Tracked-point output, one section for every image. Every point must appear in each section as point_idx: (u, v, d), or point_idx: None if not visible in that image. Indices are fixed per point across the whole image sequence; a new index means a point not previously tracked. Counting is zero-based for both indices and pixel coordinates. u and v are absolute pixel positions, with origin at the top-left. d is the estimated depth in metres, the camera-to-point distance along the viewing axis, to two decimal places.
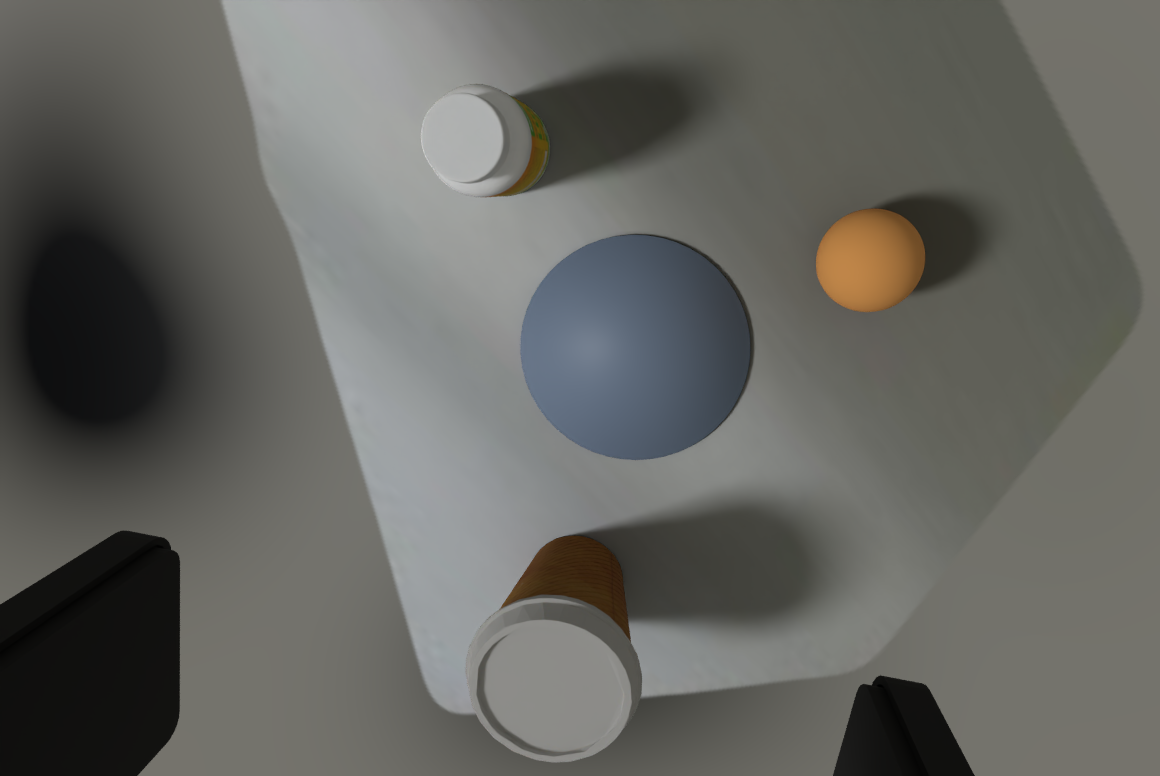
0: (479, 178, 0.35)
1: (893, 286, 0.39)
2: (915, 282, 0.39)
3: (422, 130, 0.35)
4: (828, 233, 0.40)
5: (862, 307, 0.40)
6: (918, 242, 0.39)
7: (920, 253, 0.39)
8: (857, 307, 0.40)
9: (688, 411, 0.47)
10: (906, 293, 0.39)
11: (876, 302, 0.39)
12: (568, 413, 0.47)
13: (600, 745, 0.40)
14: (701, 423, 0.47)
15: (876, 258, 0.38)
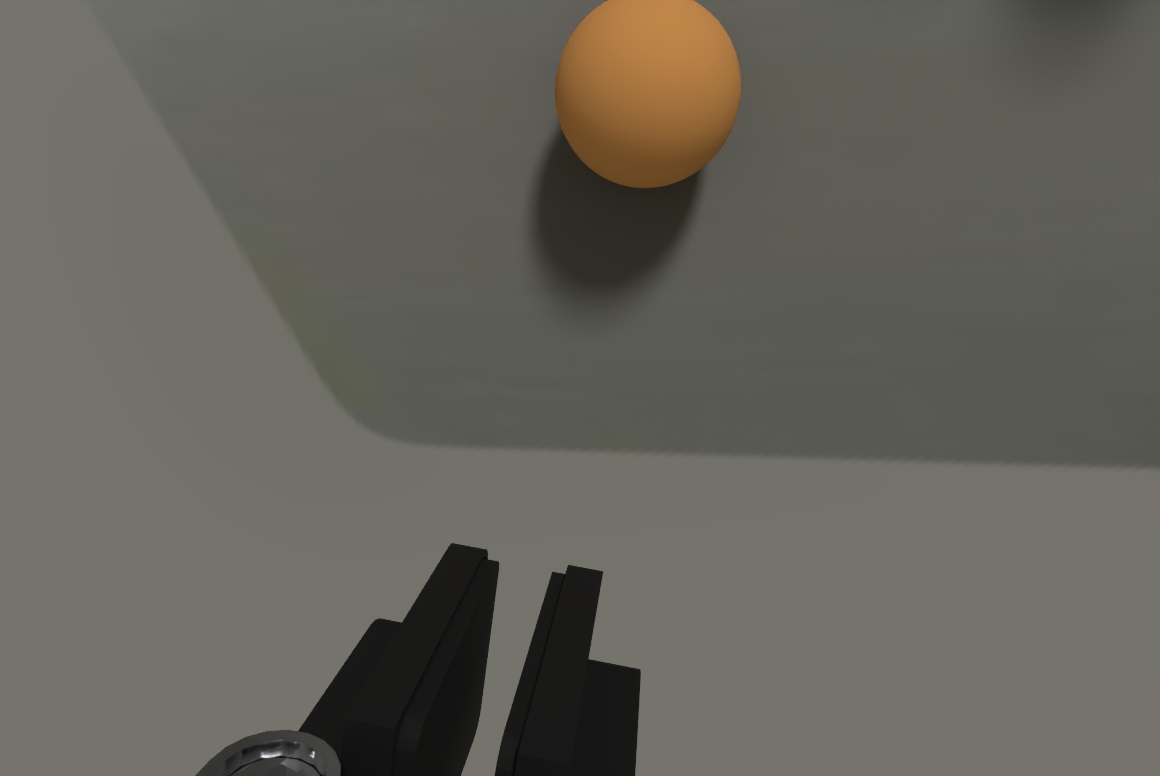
0: None
1: (597, 82, 0.20)
2: (578, 130, 0.21)
3: None
4: (733, 48, 0.22)
5: (585, 24, 0.21)
6: (639, 169, 0.22)
7: (620, 162, 0.22)
8: (590, 17, 0.21)
9: None
10: (568, 107, 0.21)
11: (584, 45, 0.21)
12: None
13: None
14: None
15: (663, 75, 0.20)
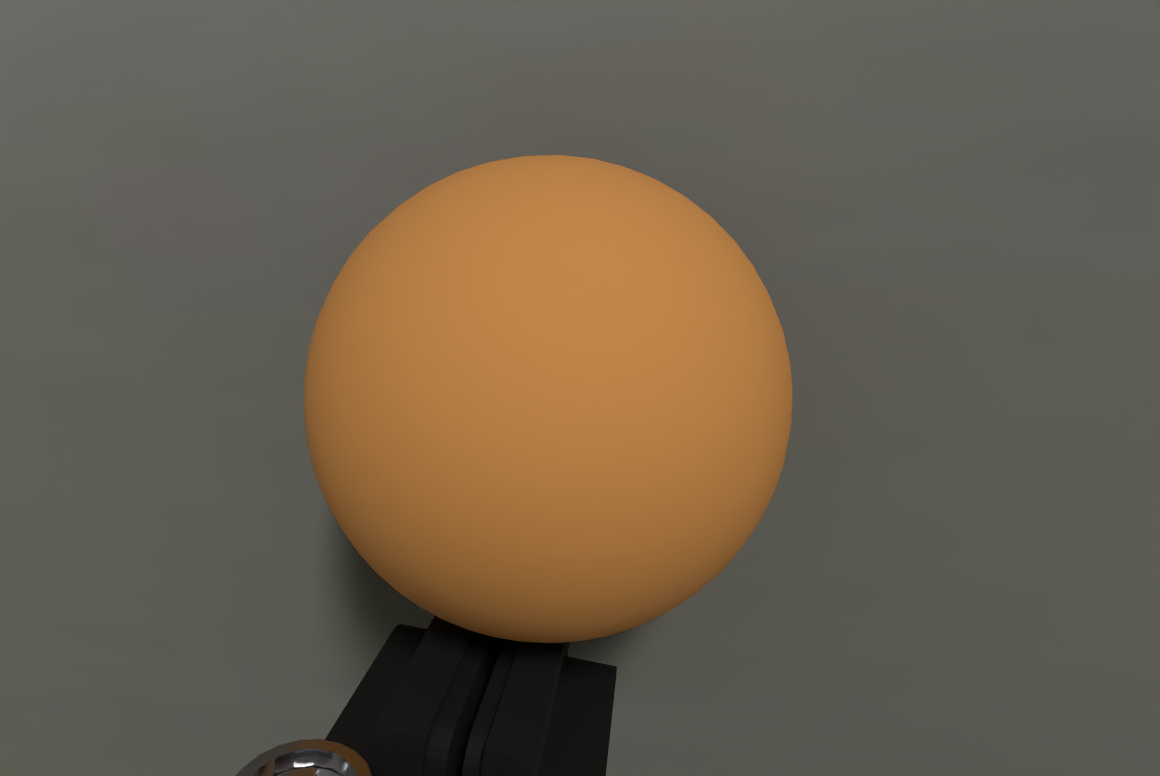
0: None
1: (369, 461, 0.07)
2: (347, 535, 0.08)
3: None
4: (776, 314, 0.08)
5: (358, 262, 0.07)
6: None
7: None
8: (377, 237, 0.07)
9: None
10: (318, 476, 0.08)
11: (343, 335, 0.07)
12: None
13: None
14: None
15: (561, 474, 0.06)
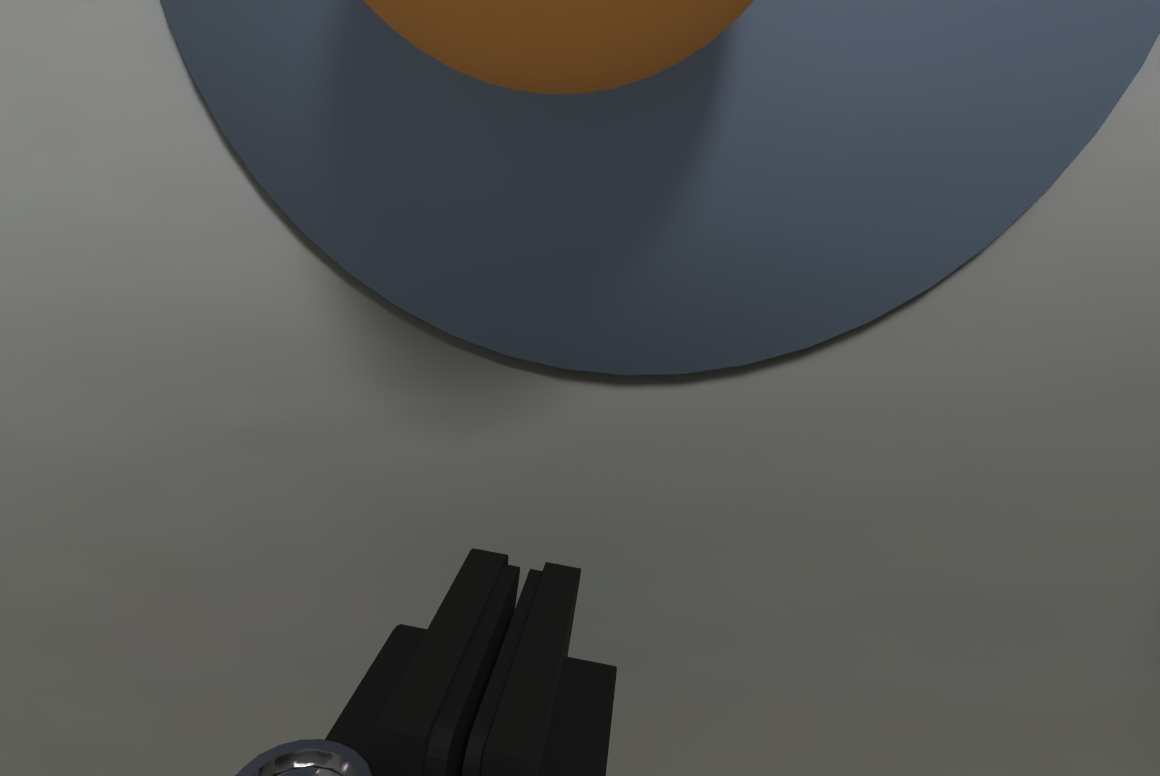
0: None
1: None
2: None
3: None
4: None
5: None
6: None
7: None
8: None
9: None
10: None
11: None
12: None
13: None
14: None
15: (558, 92, 0.08)
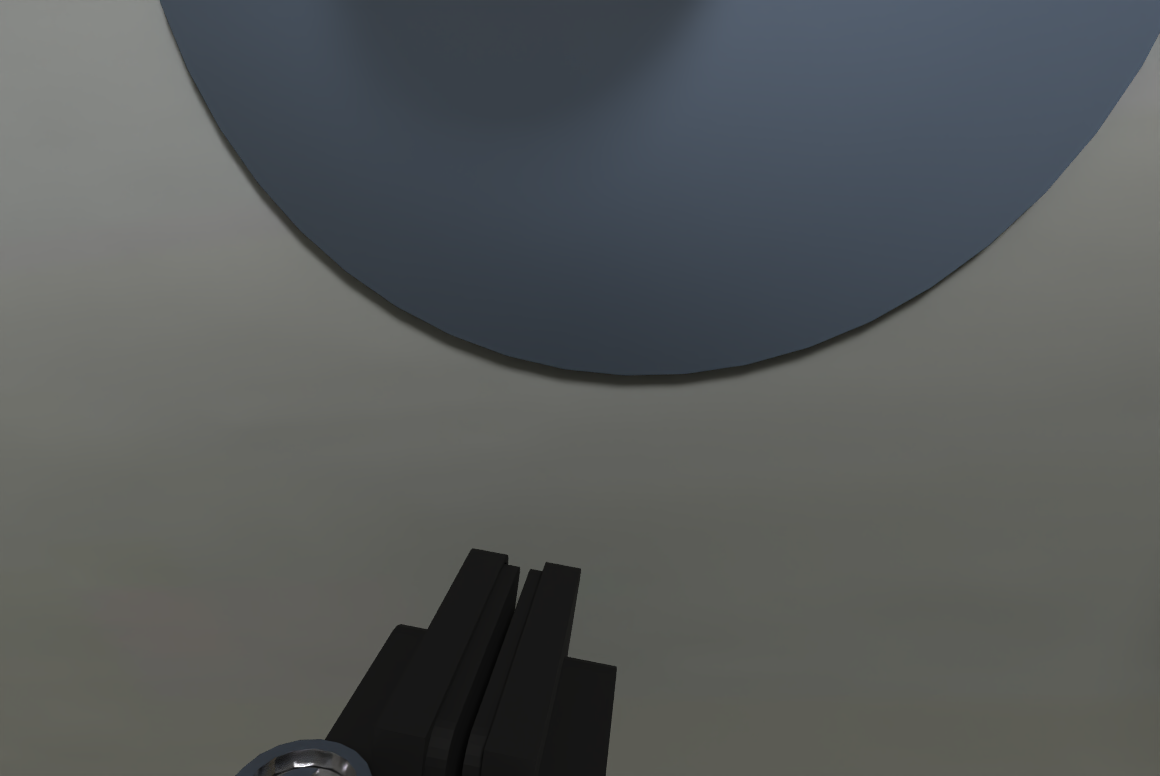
0: None
1: None
2: None
3: None
4: None
5: None
6: None
7: None
8: None
9: None
10: None
11: None
12: None
13: None
14: None
15: None
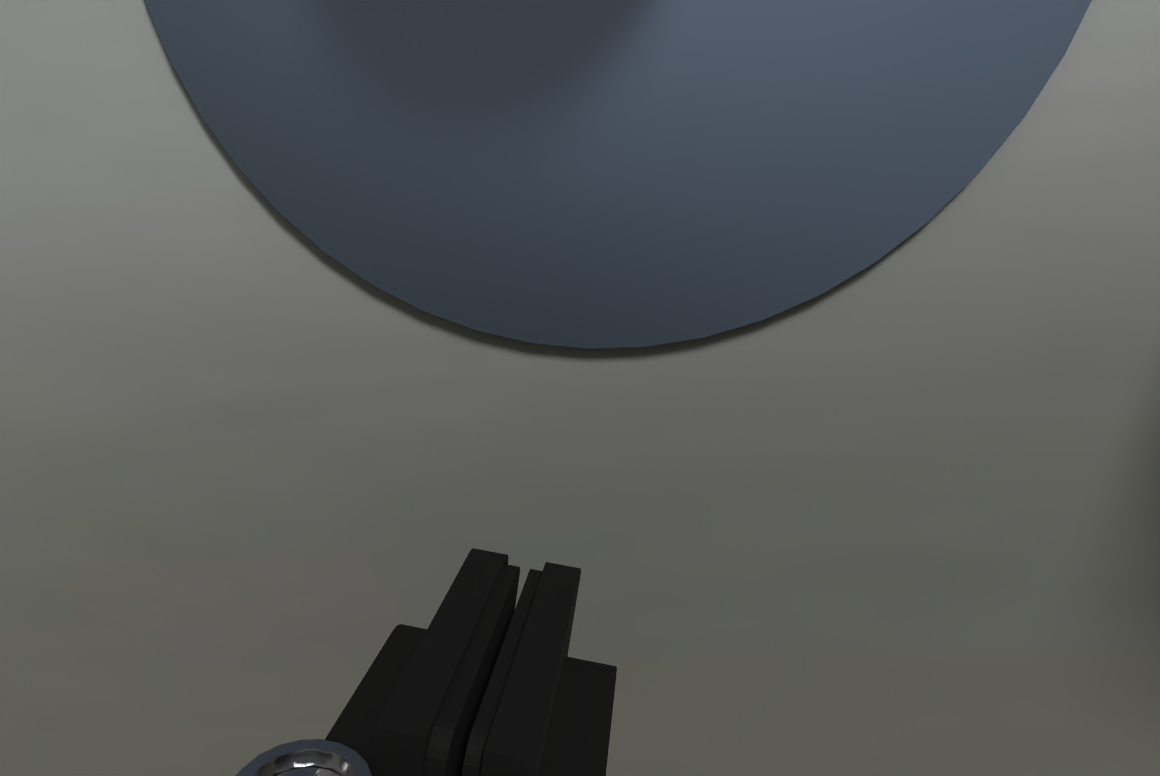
0: None
1: None
2: None
3: None
4: None
5: None
6: None
7: None
8: None
9: None
10: None
11: None
12: None
13: None
14: None
15: None
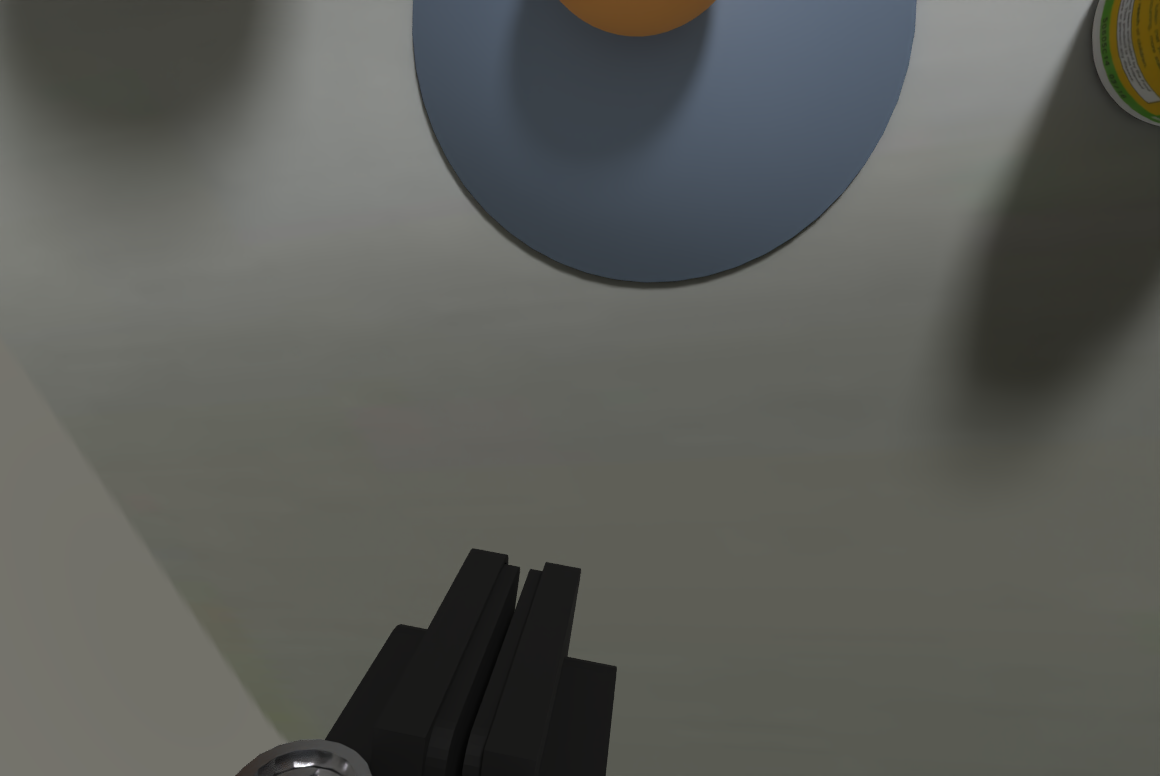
0: None
1: None
2: None
3: None
4: None
5: None
6: (622, 33, 0.19)
7: (601, 25, 0.19)
8: None
9: (481, 69, 0.22)
10: None
11: None
12: None
13: None
14: (446, 80, 0.22)
15: None
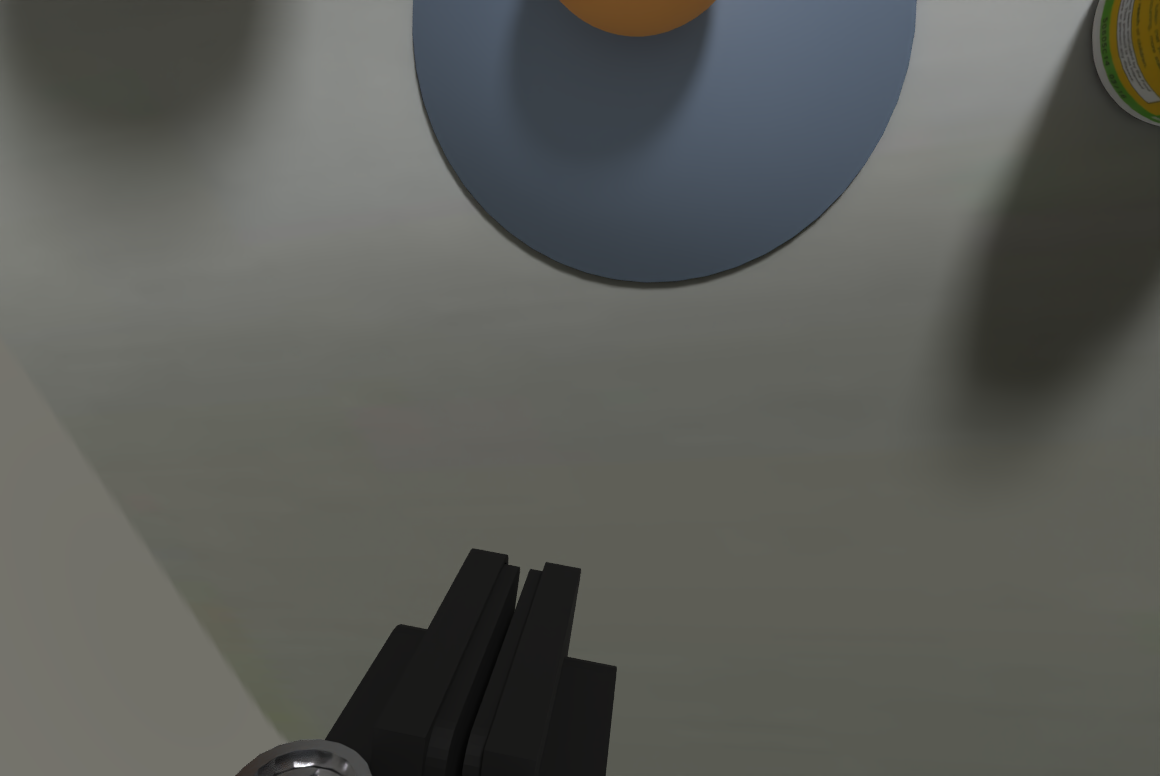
0: None
1: None
2: None
3: None
4: None
5: None
6: (622, 33, 0.19)
7: (601, 26, 0.19)
8: None
9: (481, 69, 0.22)
10: None
11: None
12: None
13: None
14: (446, 80, 0.22)
15: None
